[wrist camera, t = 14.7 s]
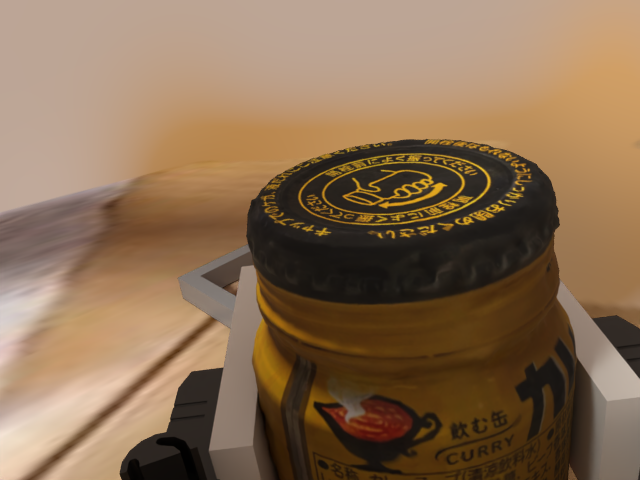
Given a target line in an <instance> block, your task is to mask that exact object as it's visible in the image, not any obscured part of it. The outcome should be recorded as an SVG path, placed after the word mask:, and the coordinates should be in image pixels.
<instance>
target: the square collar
mask: <svg viewBox="0 0 640 480" xmlns="http://www.w3.org/2000/svg"><path fill="white" fill-rule="evenodd" d="M252 265H253V261H252V254H251V251H250V249H249V247H248V244H247V245H245V246H243V247H241V248H239V249H237V250H235V251H233V252H230V253H228V254H226V255H224V256H222V257H220V258H218V259H216V260H214V261H212V262H210V263H208V264H205V265H203V266H201V267H199V268H197V269H195V270H193V271H191V272H189V273H187V274H185V275H183V276H181V277H178V280H179V284H180V288H181V291H182V295H183V298H184V299H185V300H187V301H188V302H190V303H191V304H193V305H195V306H196V307H198V308H199V309H201V310H202V311H204V312H205V313H207V314H209V315H210V316H212V317H213V318H215V319H216V320H218V321H219V322H221V323H223V324H224V325H226V326H227V327H229V328H230V329H231V323H232V318H233V312H234V306H235V301H236V296H235V295H233V294H231V293H229V292H228V291H226V290H224V289H222V288H223V287H225V286H227V285H228V284H230V283H232V282H234V281H236V280H238V279H239V278H240V273H241V267H244V266H252Z"/></svg>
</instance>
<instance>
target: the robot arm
mask: <svg viewBox="0 0 640 480" xmlns="http://www.w3.org/2000/svg"><path fill="white" fill-rule="evenodd" d="M559 279H560V278H559ZM256 284H257V276H256V269H255V268H254V265H252V266H244V267H241V273H240V278H239V284H238V290H237V295H236V301H235V306H234V312H233V318H232V323H231V329H230V334H229V340H228V346H227V351H226V357H225V362H224V368H216V369H209V370H201V371H193V372H191V373H190V374H189V376H188V377H187V378H186V379H185V381H184V382H183V383H182V384H181V386H180V387H179V388H178V392H177V396H176V399H175V403H174V408H173V410H172V414H171V418H170V422H169V425H168V429H167V432H165V433H160V434H155V435H153V436H151V437H149V438H147V439H145V440H143V441H141V442H140V443H139V444H137V445H136V446H135V447H134V448H133V449H131V450H130V451H129V453H128V454H127V456H126V457H125V459H124V460H123V461H122V465H121V469H120V476H121V479H122V480H280V479H279V476H278V472H277V469H276V466H275V464H274V462H273V460H272V458H271V456H270V452H269V441H268V439H267V437H266V434H265V416H264V413H263V412H262V411H261V408H260V405H259V394H258V389H257V384H256V378H255V372H254V369H253V365H252V355H253V349H254V342H255V337H256V332H257V330H258V327H259V325H260V323H261V321H262V318H263V317H262V315H261V313H260V311H259V307H258V303H257V301H256ZM557 299H558V301H559V302H560V304H561V305H562V307H563V308H564V310H565V311H566V313H567V314H568V316H569V320H570V324H571V326H572V328H573V332H574V337H575V345H576V355H577V362H576V369H575V389H574V398H573V417H572V425H571V427H572V430H571V445H570V460H569V464H570V466H571V468H572V470H573V472H574V473H575V475H576V477H577V479H578V480H640V329H639V328H638V327H636V326H634V325H633V324H631V323H629V322H627V321H626V320H624V319H622V318H620V317H619V316H617V315H616V316H608V317H600V318H593V319H591V317H590V316H589V315H588V314H587V312H586V311H585V310H584V309H583V307H582V306H581V305H580V304H579V302H578V301H577V300H576V298H575V297H574V296H573V295H572V293H571V292H570V291H569V290H568V288H567V287H566V286H565V285H564V283H563V282H562V281H561V280H560V285H559V289H558V294H557Z"/></svg>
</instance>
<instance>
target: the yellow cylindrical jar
mask: <svg viewBox="0 0 640 480" xmlns="http://www.w3.org/2000/svg"><path fill="white" fill-rule="evenodd" d="M559 225H560V224H559V218H558V208H557V206H556V196H555V192H554V191H553V187H552V183H551V181H550V179H549V177H548V176H547V175H546V174H544V172H543V171H542V170H541V169H540V168H538V166H537V164H535V163H533V162H531V161H529V160H527V159H525V158H523V157H521V156H519V155H517V154H515V153H513V152H510V151H507V150H504V149H497V148H493V147H491V146H489V145H485V144H477V143H473V142H465V141H461V140H458V141H456V140H446V139H445V140H430V139H426V140H400V141H392V142H386V143H378V144H367V145H364V146H358V147H356V146H355V147H352V148H347V149H344V150H339V151H336V152H333V153H330V154H325V155H322V156H319V157H318V158H312V159H310V160H308V161H306V162H302V163H300V164H298V165H296V166H295V167H293V168H291V169H289V170H286V171H285V172H283V173H282V174H279V175H277V176H276V177H275V178H274V179H272V180H271V181H270V182H269V183H268V184H267V186H265V187H264V188H263V189H262V190H261V192H260V193H259V195H258V196H257V198H256V199H254V200H252V201H251V206H250V209H249V212H248V223H247V235H246V236H247V240H248V247H249V249H250V251H251V254H252V261H253V265H254V268H255V269H256V276H257V284H256V301H257V303H258V307H259V311H260V313H261V315H262V317H263V318H262V321H261V323H260V325H259V327H258V330H257V332H256V337H255V342H254V349H253V355H252V365H253V369H254V372H255V378H256V384H257V389H258V394H259V405H260V408H261V411H262V412H263V413H264V416H265V434H266V437H267V439H268V441H269V452H270V456H271V458H272V460H273V462H274V464H275V466H276V469H277V472H278V476H279V479H280V480H568V470H569V460H570V445H571V430H572V427H571V425H572V417H573V398H574V389H575V369H576V362H577V355H576V345H575V337H574V332H573V328H572V326H571V324H570V320H569V316H568V314H567V313H566V311H565V310H564V308H563V307H562V305H561V304H560V302H559V301H558V299H557V294H558V289H559V285H560V279H559V268H558V264H557V259H556V255H555V252H554V232H555V229H557V228H558V227H559Z"/></svg>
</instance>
